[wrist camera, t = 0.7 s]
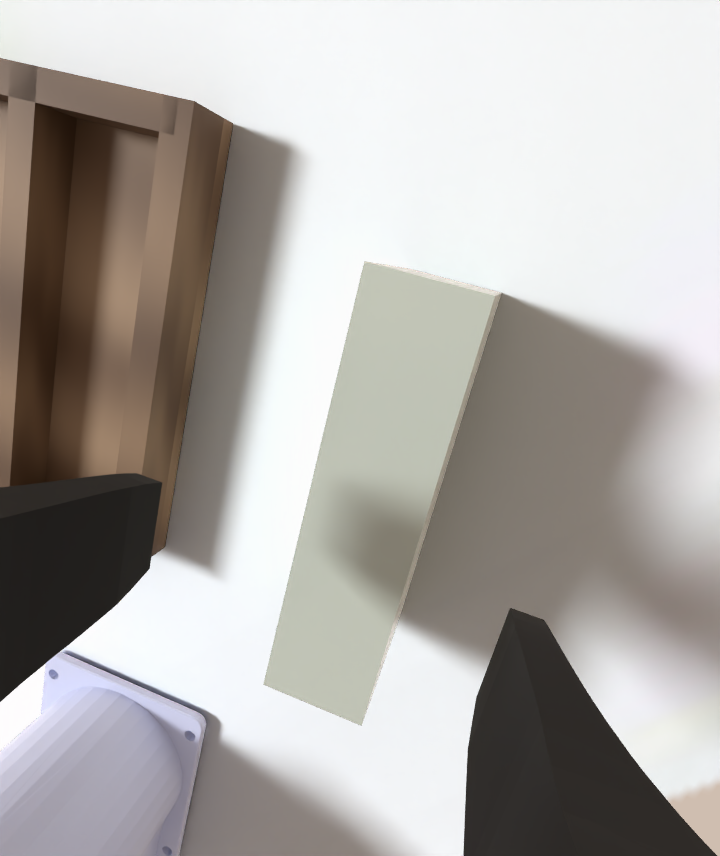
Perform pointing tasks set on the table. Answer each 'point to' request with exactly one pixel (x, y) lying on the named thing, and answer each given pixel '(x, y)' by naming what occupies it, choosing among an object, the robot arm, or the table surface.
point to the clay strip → (376, 481)
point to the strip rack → (101, 274)
